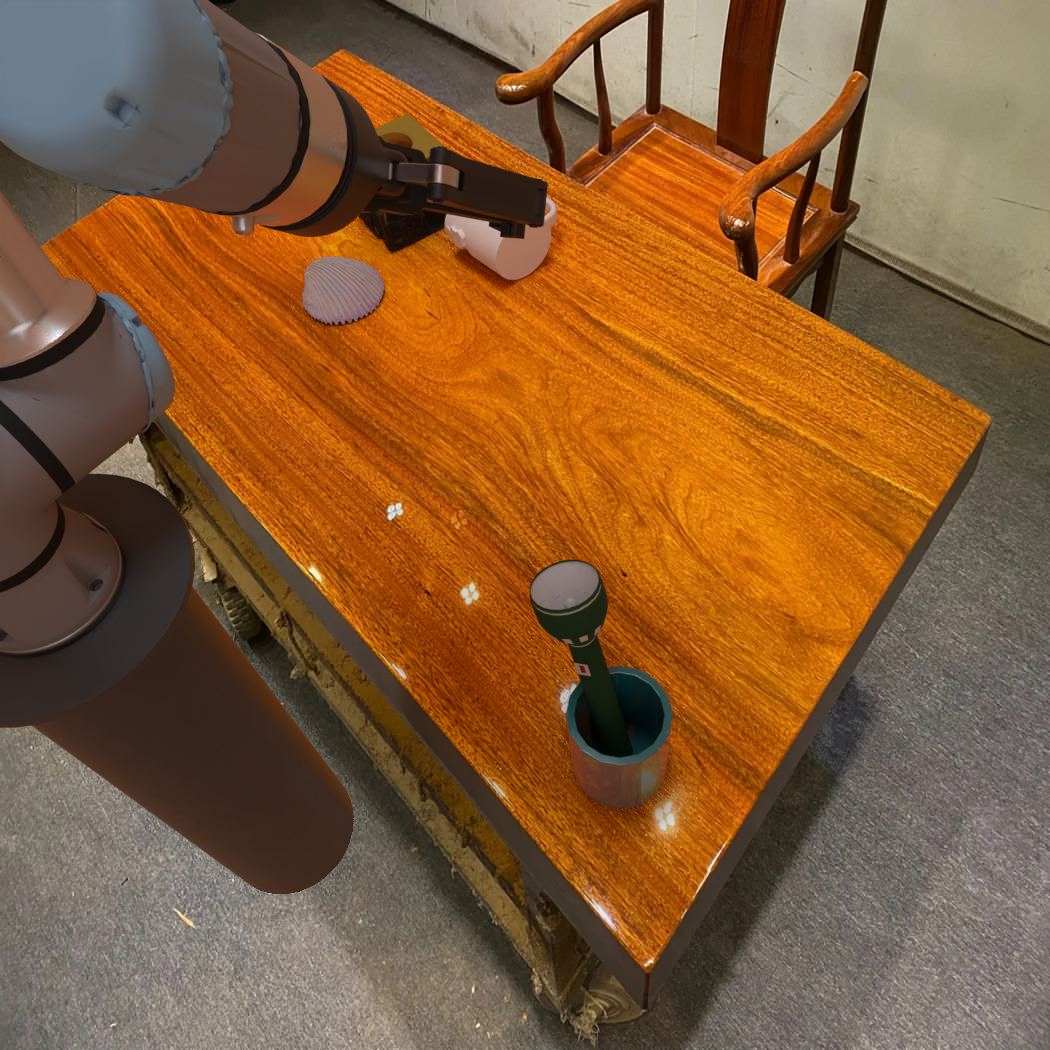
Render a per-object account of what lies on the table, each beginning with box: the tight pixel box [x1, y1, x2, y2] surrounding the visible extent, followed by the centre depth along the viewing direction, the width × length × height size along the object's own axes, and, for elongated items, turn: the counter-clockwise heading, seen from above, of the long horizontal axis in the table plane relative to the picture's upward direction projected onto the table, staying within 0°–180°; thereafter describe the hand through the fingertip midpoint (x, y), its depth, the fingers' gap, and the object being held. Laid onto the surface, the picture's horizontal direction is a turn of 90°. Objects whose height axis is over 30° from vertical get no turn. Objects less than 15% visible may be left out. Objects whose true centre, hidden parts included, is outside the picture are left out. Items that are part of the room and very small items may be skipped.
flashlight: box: [529, 559, 634, 758], centre depth 69 cm, size 5×5×20 cm
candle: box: [358, 113, 446, 252], centre depth 114 cm, size 10×10×10 cm
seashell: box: [301, 256, 386, 326], centre depth 109 cm, size 10×6×10 cm
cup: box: [565, 665, 674, 809], centre depth 72 cm, size 8×8×10 cm
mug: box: [444, 196, 558, 281], centre depth 109 cm, size 12×9×8 cm
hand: (425, 209), depth 64 cm, fingers open, 13 cm apart
